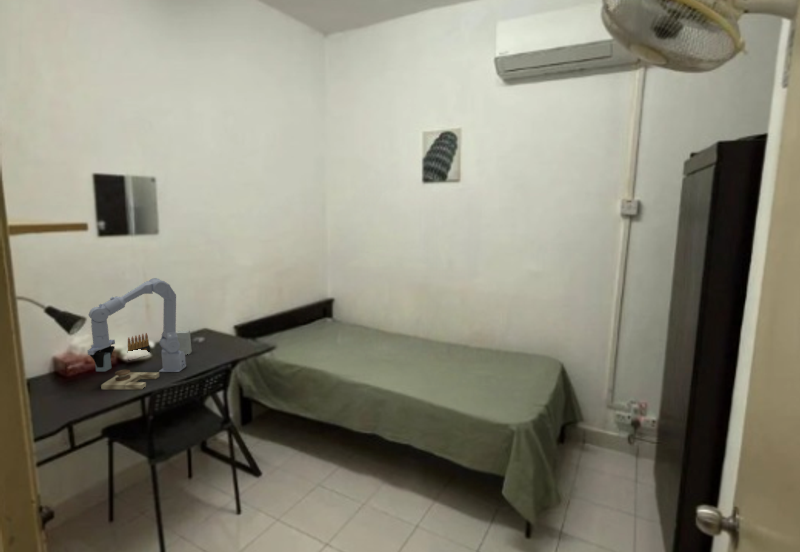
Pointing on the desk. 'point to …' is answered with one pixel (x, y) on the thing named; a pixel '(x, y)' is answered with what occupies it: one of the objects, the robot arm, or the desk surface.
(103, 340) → the robot arm
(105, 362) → the tab peg
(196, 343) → the desk surface
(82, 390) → the desk surface
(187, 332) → the skincare box
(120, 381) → the notched board
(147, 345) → the ammunition clip
